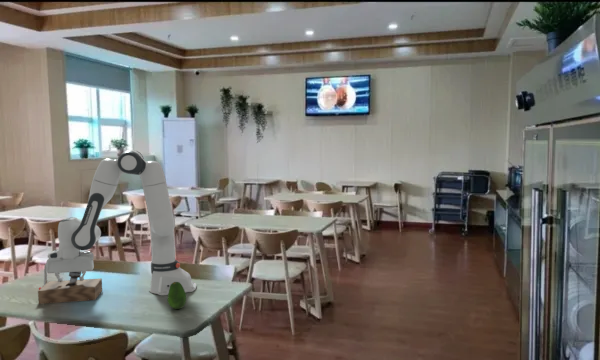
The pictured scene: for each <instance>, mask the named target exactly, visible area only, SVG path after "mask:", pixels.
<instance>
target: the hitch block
mask: <svg viewBox="0 0 600 360" xmlns="http://www.w3.org/2000/svg"><path fill="white" fill-rule="evenodd" d="M69 282H70V279H68V280H63V281H62V282H58V280H51V281H47V283H46V284H45V285H44V284H43V285H42V287H41V289H40V290H39V289H38V290H37V297H38V305H43V304H57V303H71V302H72V303H73V302H85V301H87V302H88V301H89V302H90V301H96V299H97V298H98V297H99V296H100V294H101V293H102V291H103V279H102V278H87V279H85V278H84V280H83V281H80V279H77V282H76V285H75V286H69Z"/></svg>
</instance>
